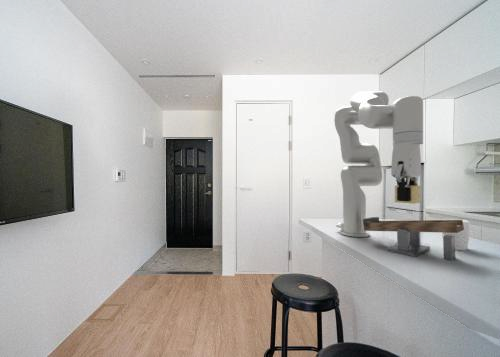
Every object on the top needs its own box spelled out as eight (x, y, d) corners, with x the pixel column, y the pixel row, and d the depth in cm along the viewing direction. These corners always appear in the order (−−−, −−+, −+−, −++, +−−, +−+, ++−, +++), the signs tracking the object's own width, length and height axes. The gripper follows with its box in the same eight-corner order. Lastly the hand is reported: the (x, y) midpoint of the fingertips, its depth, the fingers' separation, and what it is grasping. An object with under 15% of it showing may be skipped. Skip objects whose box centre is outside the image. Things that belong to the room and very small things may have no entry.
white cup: (446, 243, 91) (445, 218, 91) (473, 248, 84) (472, 220, 85) (438, 246, 87) (437, 219, 87) (466, 252, 80) (465, 222, 80)
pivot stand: (388, 251, 81) (388, 227, 81) (404, 244, 90) (404, 223, 90) (415, 256, 75) (414, 231, 75) (429, 249, 83) (429, 226, 84)
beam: (364, 232, 91) (362, 219, 92) (374, 230, 96) (372, 217, 96) (458, 235, 69) (454, 217, 70) (464, 231, 74) (461, 215, 74)
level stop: (443, 258, 73) (443, 236, 73) (447, 256, 76) (446, 234, 76) (451, 260, 72) (451, 237, 72) (455, 257, 74) (454, 235, 74)
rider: (394, 202, 71) (394, 185, 71) (401, 201, 74) (401, 185, 74) (414, 203, 67) (414, 186, 67) (420, 202, 70) (420, 185, 70)
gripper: (404, 143, 78) (404, 198, 78) (381, 138, 68) (381, 201, 68) (431, 140, 72) (431, 199, 72) (411, 134, 62) (411, 203, 62)
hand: (407, 199), depth 70 cm, fingers closed on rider, 5 cm apart
